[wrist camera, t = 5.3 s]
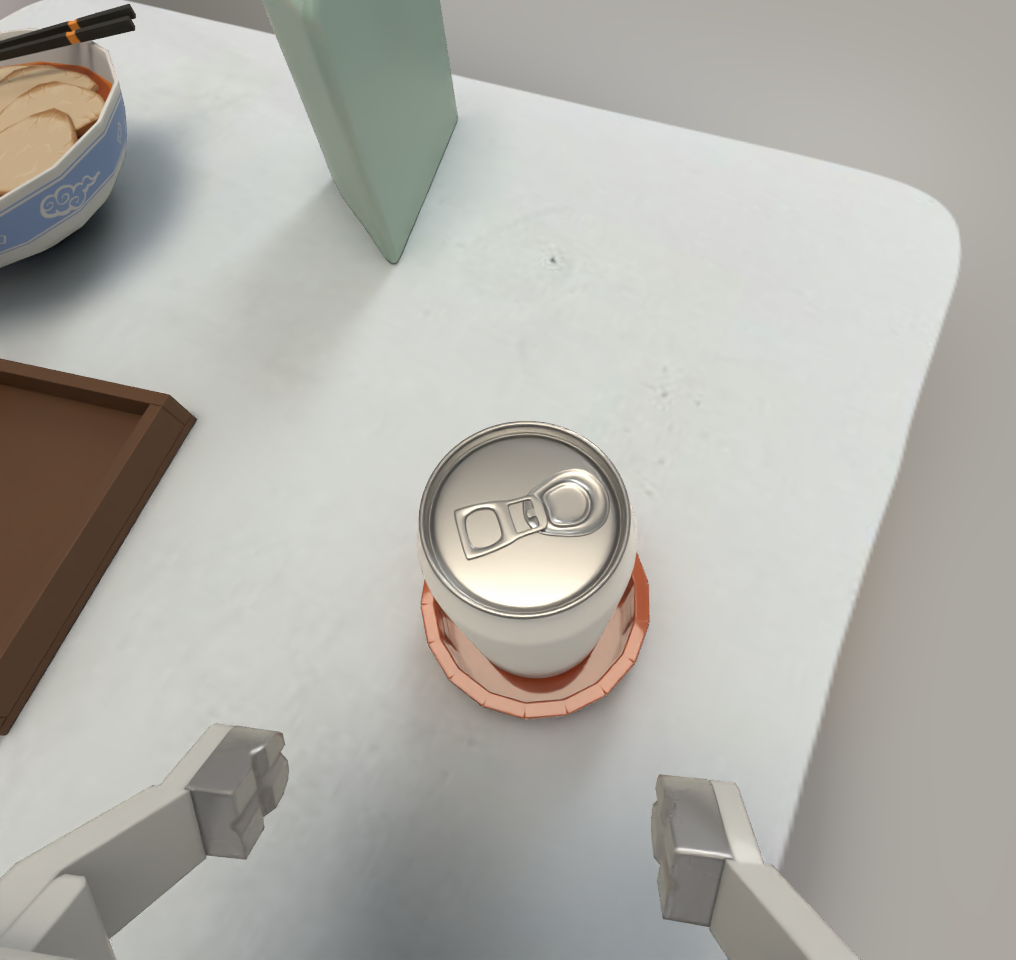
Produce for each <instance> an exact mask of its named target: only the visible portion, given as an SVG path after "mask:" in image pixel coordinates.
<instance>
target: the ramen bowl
mask: <svg viewBox="0 0 1016 960" xmlns="http://www.w3.org/2000/svg"><path fill="white" fill-rule="evenodd" d="M135 18H136V14H135V12H134V11H133V9H132V7H131V6H130V4H127V5H123V6H120V7H116V8H113V9H109V10H106V11H102V12H99V13H95V14H92V15H88V16H85V17H81V18H78V19H76V20H74V21H67V22H64V23H60V24H57V25H53V26H50V27H46V28H43V29H33V28H27V29H19V30H12V31H4V32H0V267H3V266H6V265H9V264H11V263H14V262H16V261H19V260H22V259H24V258H27V257H30V256H32V255H35V254H37V253H40V252H43V251H45V250H47V249H48V248H50V247H53V246H55V245H56V244H58V243H59V242H60V241H62V240H63V239H65V238H66V237H68V236H69V235H70V234H72V233H73V232H75V231H76V230H78V229H79V228H81V227H82V226H83V225H84V224H85V223H86V222H87V221H88V220H89V219H90V218H91V217H92V215H93V214H94V213H95V212H96V211H97V210H98V209H99V208H100V207H101V205H102V204H103V203H104V202H105V201H106V200H107V199H108V197H109V195H110V193H111V191H112V189H113V187H114V184H115V182H116V179H117V176H118V174H119V171H120V169H121V166H122V163H123V161H124V158H125V154H126V142H127V128H126V114H125V106H124V102H123V98H122V93H121V89H120V85H119V80H118V77H117V74H116V71H115V68H114V65H113V62H112V60H111V57H110V54H109V51H108V50H107V49H105V48H103V47H101V46H100V45H98V44H96V43H94V42H93V41H91V40H95V39H100V38H104V37H108V36H113V35H117V34H121V33H126V32H130V31H134V30H135V25H134V23H133V22H132V20H131V19H135Z"/></svg>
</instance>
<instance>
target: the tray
mask: <svg viewBox="0 0 1016 960" xmlns="http://www.w3.org/2000/svg"><path fill="white" fill-rule="evenodd" d="M195 421H196V418H195V417H194V416H193V415H192V414H191V413H190V412H189V411H187V410H186V409H185V408H184V407H183V406H182V405H181V404H179V403H178V402H177V401H176V400H175V399H174V398H173V397H172V396H170V395H168V394H164V393H159V392H154V391H150V390H145V389H140V388H136V387H131V386H126V385H121V384H117V383H112V382H107V381H103V380H98V379H93V378H89V377H84V376H79V375H75V374H70V373H65V372H61V371H56V370H51V369H47V368H42V367H37V366H33V365H28V364H23V363H18V362H14V361H9V360H4V359H0V735H6V734H7V733H8V731H9V729H10V728H11V726H12V724H13V723H14V721H15V719H16V718H17V716H18V714H19V713H20V711H21V709H22V708H23V706H24V704H25V703H26V701H27V699H28V698H29V696H30V694H31V693H32V691H33V690H34V688H35V686H36V685H37V683H38V681H39V680H40V678H41V676H42V675H43V673H44V671H45V670H46V668H47V666H48V665H49V663H50V661H51V660H52V658H53V656H54V655H55V653H56V651H57V650H58V648H59V646H60V645H61V643H62V641H63V640H64V638H65V636H66V635H67V633H68V631H69V630H70V628H71V626H72V625H73V623H74V621H75V620H76V618H77V616H78V615H79V613H80V611H81V610H82V608H83V606H84V605H85V603H86V602H87V600H88V598H89V597H90V595H91V593H92V592H93V590H94V588H95V587H96V585H97V583H98V582H99V580H100V578H101V577H102V575H103V573H104V572H105V570H106V568H107V567H108V565H109V563H110V562H111V560H112V558H113V557H114V555H115V553H116V552H117V550H118V548H119V547H120V545H121V543H122V542H123V540H124V538H125V537H126V535H127V533H128V532H129V530H130V528H131V527H132V525H133V523H134V522H135V520H136V518H137V517H138V515H139V514H140V512H141V510H142V509H143V507H144V505H145V504H146V502H147V500H148V499H149V497H150V495H151V494H152V492H153V490H154V489H155V487H156V485H157V484H158V482H159V480H160V479H161V477H162V475H163V474H164V472H165V470H166V469H167V467H168V465H169V464H170V462H171V460H172V459H173V457H174V455H175V454H176V452H177V450H178V449H179V447H180V445H181V444H182V442H183V440H184V439H185V437H186V435H187V434H188V432H189V431H190V429H191V427H192V426H193V424H194V422H195Z"/></svg>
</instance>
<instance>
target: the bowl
mask: <svg viewBox="0 0 1016 960" xmlns="http://www.w3.org/2000/svg"><path fill="white" fill-rule="evenodd" d="M421 611H422V616H423V622H424V627H425V633H426V638H427V643H428V646H429V648H430V649H431V651H432V653H433V654H434V656H435V658H436V659H437V661H438V663H439V664H440V666H441V668H442V669H443V671H444V673H445V674H446V676H447V678H448V679H449V680H450V681H451V682H452V683H453V684H454V685H456V686H457V687H458V688H459V689H461V690H462V691H463V692H464V693H466V694H467V695H468V696H470V697H471V698H472V699H473V700H475V701H476V702H477V703H478V704H480V705H481V706H483V707H485V708H488V709H491V710H494V711H498V712H501V713H504V714H508V715H511V716H514V717H517V718H521V719H524V720H537V719H549V718H560V717H566V716H569V715H571V714H573V713H575V712H577V711H579V710H581V709H583V708H585V707H587V706H589V705H591V704H593V703H595V702H597V701H598V700H600V699H602V698H604V697H605V696H606V695H608V694H609V693H610V692H611V690H612V689H613V688H614V687H615V686H616V685H617V684H618V682H619V681H620V680H621V679H622V678H623V677H624V676H625V674H626V673H627V672H628V671H629V670H630V669H631V668H632V666H633V665H634V663H635V662H636V660H637V657H638V654H639V651H640V649H641V646H642V643H643V640H644V637H645V635H646V632H647V629H648V626H649V624H648V623H649V584H648V580H647V577H646V575H645V572H644V569H643V567H642V564H641V562H640V559H639V556H638V554H637V551H636V558H635V564H634V568H633V571H632V574H631V577H630V580H629V582H628V585H627V587H626V589H625V591H624V593H623V595H622V598H621V600H620V602H619V604H618V605H617V607H616V609H615V611H614V613H613V615H612V617H611V619H610V621H609V622H608V624H607V626H606V628H605V630H604V632H603V633H602V635H601V637H600V639H599V641H598V642H597V644H596V645H595V647H594V648H593V650H592V651H591V652H590V654H589V655H588V656H587V657H586V658H585V659H584V660H583V661H582V662H580V663H579V664H578V665H577V666H575V667H574V668H572V669H570V670H569V671H567V672H564V673H562V674H559V675H556V676H553V677H548V678H525V677H520V676H516V675H513V674H510V673H508V672H506V671H504V670H502V669H500V668H499V667H497V666H496V665H494V664H493V663H492V662H490V661H489V660H488V659H487V658H486V657H485V656H484V655H483V654H482V653H481V652H480V651H479V650H478V649H477V648H476V647H475V646H474V645H473V643H472V642H471V641H470V640H469V639H468V638H467V637H466V636H465V635H464V634H463V632H462V631H461V630H460V629H459V628H458V627H457V626H456V625H455V623H454V622H453V621H452V620H451V619H450V618H449V617H448V615H447V614H446V613H445V612H444V610H443V609H442V608H441V607H440V605H439V604H438V602H437V601H436V599H435V598H434V596H433V595H432V593H431V591H430V589H429V587H428V585H427V583H426V580H424V586H423V592H422V598H421Z"/></svg>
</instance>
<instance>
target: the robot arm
mask: <svg viewBox="0 0 1016 960" xmlns="http://www.w3.org/2000/svg"><path fill="white" fill-rule="evenodd" d="M284 746H285V742H284V737H283V733H281V732H277V731H270V730H263V729H256V728H249V727H242V726H233V725H226V724H219V723H216V724H214V725H212V726H211V727H209V728H208V729H207V730H206V731H205V732H204V733H203V735H202V736H201V737H200V738H199V739H198V740H197V742H196V743H195V744H194V745H193V746H192V748H191V749H190V750H189V751H188V752H187V753H186V755H185V756H184V757H183V758H182V759H181V761H180V762H179V763H178V764H177V765H176V766H175V768H174V769H173V770H172V771H171V772H170V774H169V775H168V776H167V777H166V778H165V779H164V781H163V782H162V783H161V784H160V785H159V786H155V785H152V786H150V787H149V788H147V789H145V790H143V791H142V792H140V793H138V794H136V795H135V796H133V797H131V798H129V799H128V800H126V801H124V802H122V803H121V804H119V805H117V806H115V807H114V808H112V809H110V810H108V811H107V812H105V813H103V814H101V815H100V816H98V817H96V818H94V819H93V820H91V821H89V822H87V823H86V824H84V825H82V826H80V827H79V828H77V829H75V830H73V831H72V832H70V833H68V834H66V835H65V836H63V837H61V838H59V839H58V840H56V841H54V842H52V843H51V844H49V845H47V846H45V847H44V848H42V849H40V850H38V851H37V852H35V853H33V854H31V855H30V856H28V857H26V858H24V859H23V860H21V861H19V862H17V863H16V864H15V865H14V866H13V867H12V868H11V869H10V870H9V871H8V872H7V873H6V874H5V875H4V876H3V877H2V878H1V879H0V960H116V957H115V955H114V952H113V949H112V947H111V944H110V941H109V939H110V938H111V937H113V936H114V935H115V934H116V933H117V932H118V931H120V930H121V929H122V928H123V927H124V926H126V925H127V924H128V923H129V922H130V921H132V920H133V919H134V918H135V917H136V916H138V915H139V914H140V913H141V912H142V911H144V910H145V909H146V908H147V907H148V906H150V905H151V904H152V903H153V902H154V901H156V900H157V899H158V898H159V897H160V896H162V895H163V894H164V893H165V892H166V891H168V890H169V889H170V888H171V887H172V886H173V885H175V884H176V883H177V882H178V881H179V880H181V879H182V878H183V877H184V876H185V875H187V874H188V873H189V872H190V871H191V870H193V869H194V868H195V867H196V866H197V865H199V864H200V863H201V862H202V861H203V860H205V859H206V855H209V856H218V857H227V858H236V859H247V857H248V855H249V854H250V852H251V850H252V849H253V847H254V845H255V843H256V842H257V840H258V838H259V837H260V835H261V833H262V831H263V830H264V819H263V817H264V816H266V815H267V814H268V813H270V812H271V811H273V810H274V809H275V808H276V807H277V805H278V804H279V802H280V800H281V798H282V796H283V794H284V791H285V788H286V785H287V782H288V774H289V766H288V760H287V759H286V758H285V757H284V756H283V755H282V753H281V750H282V749H283V747H284ZM656 795H657V801H656V802H655V803H654V804H653V808H652V816H651V836H652V847H653V855H654V858H655V859H656V861H657V862H658V863H659V865H660V867H659V873H658V880H657V883H658V890H659V896H660V903H661V910H662V917H663V919H666V920H672V921H678V922H684V923H689V924H695V925H701V926H707V927H710V928H709V930H710V932H711V933H712V935H713V936H714V938H715V939H716V941H717V943H718V944H719V946H720V947H721V949H722V950H723V952H724V953H725V955H726V957H727V958H728V960H861V959H859V957H857V955H856V954H855V953H854V952H853V951H852V950H851V949H850V948H849V947H848V946H847V945H846V944H845V942H844V941H843V940H842V939H841V938H840V937H839V936H838V935H837V934H836V933H835V932H834V931H833V930H832V929H831V927H830V926H829V925H828V924H827V923H826V922H825V921H824V920H823V919H822V918H821V917H820V916H819V915H818V914H817V913H816V912H815V910H814V909H813V908H812V907H811V906H810V905H809V904H808V903H807V902H806V901H805V900H804V899H803V897H802V896H801V895H800V894H799V893H798V892H797V891H796V890H795V889H794V888H793V887H792V886H791V885H790V883H788V881H787V880H786V879H785V878H784V877H783V876H782V875H781V874H780V873H779V872H778V871H777V870H776V868H775V867H774V866H773V865H767V864H764V861H763V858H762V855H761V852H760V849H759V846H758V843H757V841H756V838H755V835H754V832H753V829H752V826H751V823H750V820H749V817H748V814H747V811H746V808H745V805H744V802H743V799H742V796H741V793H740V790H739V788H738V786H737V785H736V784H735V783H733V782H723V781H714V780H707V779H698V778H689V777H679V776H669V775H659V776H658V778H657V782H656Z"/></svg>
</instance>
